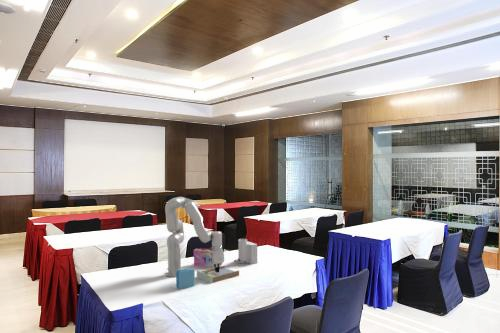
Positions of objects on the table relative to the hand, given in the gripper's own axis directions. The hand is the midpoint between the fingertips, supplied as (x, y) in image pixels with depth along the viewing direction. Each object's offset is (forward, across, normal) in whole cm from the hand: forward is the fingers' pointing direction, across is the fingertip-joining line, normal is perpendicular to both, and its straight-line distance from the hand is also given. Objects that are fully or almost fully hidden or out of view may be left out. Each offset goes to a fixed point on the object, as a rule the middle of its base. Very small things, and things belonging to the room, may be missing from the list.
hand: (217, 271), depth 265 cm
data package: (+4, -30, -4) cm, 30 cm away
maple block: (+1, -8, -1) cm, 8 cm away
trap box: (+3, +1, 0) cm, 4 cm away
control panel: (+4, +39, +16) cm, 42 cm away
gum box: (+4, +12, +30) cm, 33 cm away
